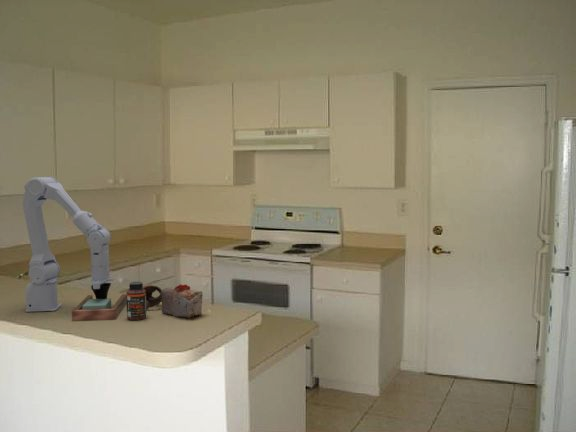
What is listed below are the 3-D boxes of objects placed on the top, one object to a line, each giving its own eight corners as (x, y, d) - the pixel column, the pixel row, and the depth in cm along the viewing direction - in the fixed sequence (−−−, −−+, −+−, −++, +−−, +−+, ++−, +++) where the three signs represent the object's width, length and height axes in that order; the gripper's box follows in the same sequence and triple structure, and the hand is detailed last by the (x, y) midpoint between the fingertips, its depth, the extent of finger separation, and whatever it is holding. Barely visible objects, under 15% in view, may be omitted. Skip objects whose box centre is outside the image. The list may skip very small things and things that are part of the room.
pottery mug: (164, 303, 202) (167, 286, 198) (157, 322, 194) (161, 304, 190) (130, 295, 201) (133, 277, 197) (122, 314, 193) (124, 295, 189)
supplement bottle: (129, 321, 178) (128, 285, 176) (125, 317, 183) (123, 281, 182) (148, 319, 180) (147, 283, 179) (144, 314, 186) (142, 280, 184)
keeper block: (83, 320, 181) (82, 306, 181) (89, 312, 190) (89, 299, 189) (106, 319, 182) (105, 305, 181) (111, 311, 191) (111, 298, 190)
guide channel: (72, 320, 179) (71, 311, 179) (88, 303, 200) (88, 295, 200) (115, 319, 180) (114, 309, 180) (126, 302, 202) (126, 294, 201)
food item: (206, 315, 185) (206, 284, 184) (189, 321, 178) (189, 289, 177) (175, 309, 192) (174, 280, 191) (157, 314, 186) (156, 284, 185)
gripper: (108, 269, 184) (110, 311, 185) (116, 261, 198) (118, 300, 199) (85, 269, 183) (87, 311, 184) (95, 261, 197) (97, 300, 198)
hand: (101, 305), depth 192 cm, fingers closed
